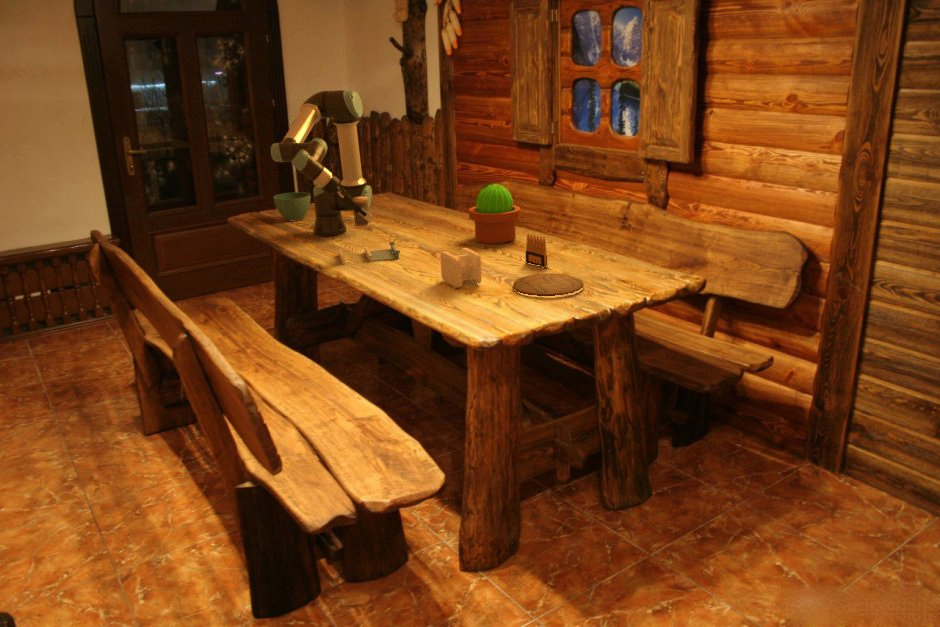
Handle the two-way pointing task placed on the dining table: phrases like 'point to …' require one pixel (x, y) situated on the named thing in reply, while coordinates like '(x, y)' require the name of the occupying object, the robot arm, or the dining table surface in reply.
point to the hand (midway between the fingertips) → (370, 218)
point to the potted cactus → (494, 215)
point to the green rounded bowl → (292, 205)
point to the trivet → (548, 284)
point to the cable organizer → (461, 267)
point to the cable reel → (359, 220)
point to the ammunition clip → (536, 251)
